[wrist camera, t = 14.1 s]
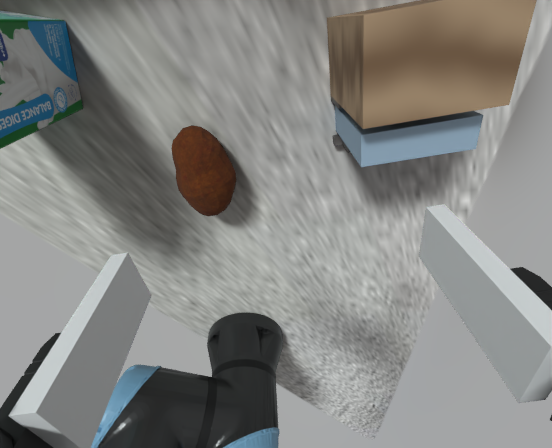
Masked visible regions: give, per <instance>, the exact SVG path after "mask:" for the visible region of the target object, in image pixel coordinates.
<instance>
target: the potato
mask: <svg viewBox="0 0 552 448" xmlns="http://www.w3.org/2000/svg"><path fill="white" fill-rule="evenodd" d="M172 155H173V160H174V164H175V167H176V180H177V185H178V189H179V191H180V193H181V194H182V196H183V197H184V198H185V199H186V201H187V202H188V203H189V204H190V205H191V206H192V207H193V208H194V209H195V210H196V211H198V212H199V213H201V214H203V215H206V216H213V215H218V214H219V213H221V212H222V211H224V210H225V209H226V208H227V206H228V205H229V203H230V202H231V198H232V195H233V192H234V188H235V183H236V173H235V170H234V168H233V166H232V163H231V161H230V159H229V157H228V155H227V154H226V152H225V150H224V148H223V147H222V146H221V144H220V143H219V141H218V140H217V138H216V137H214V136H213V135H212V134H211V133H210V132H208V131H207V130H205V129H203V128H202V127H198V126H189V127H186V128H183V129H182V130H181V131H180V133H179V134H178V135H177V136H176V138H175V139H174V140H173V144H172Z"/></svg>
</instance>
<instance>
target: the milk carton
mask: <svg viewBox="0 0 552 448" xmlns="http://www.w3.org/2000/svg"><path fill="white" fill-rule="evenodd" d="M81 109H83V105H82V100H81V95H80V90H79V86H78V81H77V76H76V71H75V66H74V61H73V56H72V51H71V46H70V42H69V37H68V32H67V27H66V22H65V21H64V20H60V19H53V18H47V17H40V16H34V15H27V14H21V13H14V12H8V11H1V10H0V149H1V148H3V147H5V146H7V145H9V144H11V143H13V142H15V141H17V140H19V139H21V138H24V137H26V136H28V135H30V134H32V133H34V132H36V131H38V130H40V129H42V128H44V127H46V126H48V125H50V124H52V123H54V122H56V121H59V120H61V119H63V118H65V117H67V116H69V115H71V114H73V113H75V112H77V111H79V110H81Z"/></svg>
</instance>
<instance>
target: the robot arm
mask: <svg viewBox="0 0 552 448" xmlns="http://www.w3.org/2000/svg"><path fill="white" fill-rule="evenodd" d="M419 257H420V259H421V260H422V262H423V263H424V265H425V266H426V268H427V269H428V271H429V272H430V274H431V275H432V277H433V278H434V280H435V281H436V282H437V284H438V285H439V287H440V288H441V290H442V291H443V293H444V294H445V296H446V297H447V299H448V300H449V302H450V303H451V304H452V306H453V307H454V309H455V310H456V312H457V313H458V315H459V316H460V318H461V319H462V321H463V322H464V324H465V325H466V327H467V328H468V330H469V331H470V333H471V334H472V336H473V337H474V338H475V340H476V341H477V343H478V344H479V346H480V347H481V349H482V350H483V352H484V353H485V355H486V356H487V358H488V359H489V361H490V362H491V363H492V365H493V366H494V368H495V369H496V371H497V372H498V374H499V375H500V377H501V378H502V380H503V381H504V383H505V384H506V386H507V387H508V389H509V390H510V391H511V393H512V394H513V396H514V397H515V399H516V400H517V402H518V403H522V402H530V401H538V400H545V399H546V398H547V397H548V395H549V394H550V392H551V391H552V287H551V286H550V285H549V284H547V283H546V282H545V281H544V280H543V279H542V278H541V277H540V276H538V275H536V274H534V273H532V272H530V271H529V270H526V269H525V268H523V267H519V268H513V269H509V268H508V267H507V266H506V265H505V264H504V263H503V262H502V261H501V260H500V259H499V258H498V257H497V256H496V255H495V254H494V253H493V252H492V251H491V250H490V249H489V248H488V247H487V246H486V245H485V244H484V243H483V242H482V241H481V240H480V239H479V238H478V237H477V236H476V235H475V234H474V233H473V232H472V231H471V230H470V229H469V228H468V227H467V226H466V225H465V224H464V223H463V222H462V221H461V220H460V219H459V218H458V217H457V216H456V215H455V214H454V213H453V212H452V211H451V210H449V209H448V208H447V207H446V206H445V205H444V204H443V205H437V206H430V207H426V210H425V217H424V224H423V231H422V238H421V245H420V252H419ZM150 298H151V293H150V292H149V290H148V288H147V286H146V284H145V283H144V281H143V279H142V277H141V275H140V274H139V272H138V270H137V268H136V266H135V265H134V263H133V261H132V259H131V257H130V256H129V254H128V253H122V254H115V255H111V256H110V258H109V260H108V261H107V263H106V264H105V266H104V267H103V269H102V271H101V272H100V274H99V275H98V277H97V278H96V280H95V282H94V283H93V285H92V286H91V288H90V289H89V291H88V292H87V294H86V295H85V297H84V299H83V300H82V302H81V303H80V305H79V306H78V308H77V310H76V311H75V313H74V314H73V316H72V317H71V319H70V320H69V322H68V324H67V325H66V327H65V328H64V330H63V331H62V333H56V334H55V335H54V336H53V337H51V339H50V340H48V341H47V342H46V343H45V344H44V345H43V346H42V348H41V349H40V350H39V352H38V353H37V355H36V356H35V358H34V359H33V363H32V364H30V365H29V367H28V368H27V370H26V371H25V375H24V376H22V377H21V379H20V380H19V382H18V383H17V384H16V386H15V387H14V389H13V390H12V392H11V393H10V395H9V396H8V398H7V399H6V401H5V402H4V404H3V405H2V407H1V408H0V448H278V435H279V429H278V415H277V395H276V374H275V373H276V369H277V365H278V362H279V358H280V355H281V351H282V347H283V338H282V331H281V329H280V327H279V326H278V324H277V323H276V322H274V321H273V320H271V319H270V318H268V317H266V316H263V315H259V314H254V313H237V314H232V315H228V316H226V317H223V318H221V319H220V320H218V321H217V322H216V323H215V324H214V325H213V326H212V327H211V329H210V331H209V336H208V342H207V344H208V345H207V346H208V352H209V357H210V362H211V367H212V377H208V376H203V375H197V374H192V373H187V372H181V371H177V370H172V369H166V368H162V367H161V366H156V367H153V366H146V365H134V366H132V367H130V368H129V369H127V370H126V371H125V372H124V374H123V375H122V376H121V378H120V379H119V381H118V383H117V380H118V378H119V375H120V373H121V370H122V368H123V365H124V363H125V360H126V358H127V355H128V353H129V350H130V348H131V345H132V343H133V340H134V338H135V335H136V332H137V330H138V328H139V325H140V323H141V320H142V318H143V315H144V313H145V310H146V308H147V305H148V303H149V300H150ZM116 383H117V384H116ZM115 385H116V386H115ZM550 420H551V421H552V415H551V418H550Z"/></svg>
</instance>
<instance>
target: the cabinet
mask: <svg viewBox="0 0 552 448" xmlns="http://www.w3.org/2000/svg"><path fill="white" fill-rule="evenodd" d="M535 4H536V0H420V1H415V2H409V3H404V4H399V5H393V6H388V7H383V8H377V9H372V10H366V11H361V12H356V13H350V14H345V15H340V16H334V17H329V18H327V29H328V49H329V69H330V89H331V101H332V102H333V103H334V105H335V106H336V107H337V108H343V109H344V110H345V111H346V112H347V113H348V114H349V115H350V116H351V117H352V118H353V119H354V120H355V121H356V122H357V123H358V124H359V125H360V126H361V127H362V128H363V129H366V128H372V127H378V126H384V125H390V124H396V123H402V122H408V121H414V120H420V119H426V118H432V117H438V116H444V115H450V114H456V113H462V112H468V111H474V110H480V109H486V108H492V107H498V106H504V105H509V103H510V99H511V95H512V91H513V88H514V84H515V80H516V76H517V72H518V69H519V65H520V61H521V57H522V53H523V50H524V46H525V42H526V38H527V34H528V31H529V27H530V23H531V19H532V16H533V12H534V8H535ZM333 143H334V145H335V146H338V145H343V146H344V147H345V149H346V150H347V152H350V150H349V149H348V147H347V146H346V144H345V143H344V142H343V140H342V139H341V137H340V136H339V135H334V136H333Z"/></svg>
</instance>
